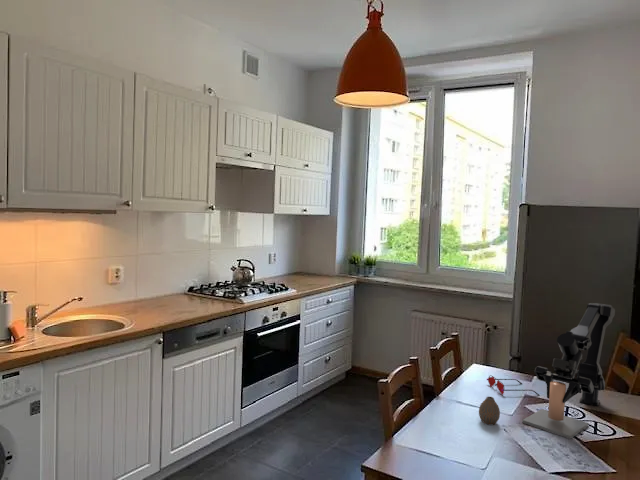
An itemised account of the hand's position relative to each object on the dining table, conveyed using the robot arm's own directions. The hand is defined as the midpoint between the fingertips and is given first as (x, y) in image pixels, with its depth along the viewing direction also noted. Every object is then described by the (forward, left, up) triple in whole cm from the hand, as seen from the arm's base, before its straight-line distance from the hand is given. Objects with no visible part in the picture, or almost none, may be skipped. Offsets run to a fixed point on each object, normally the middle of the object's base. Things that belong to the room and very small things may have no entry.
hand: (555, 400), depth 176 cm
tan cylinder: (-1, 0, -7) cm, 7 cm away
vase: (+12, -19, -9) cm, 24 cm away
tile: (-1, 0, -9) cm, 9 cm away
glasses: (-28, -21, -10) cm, 36 cm away
